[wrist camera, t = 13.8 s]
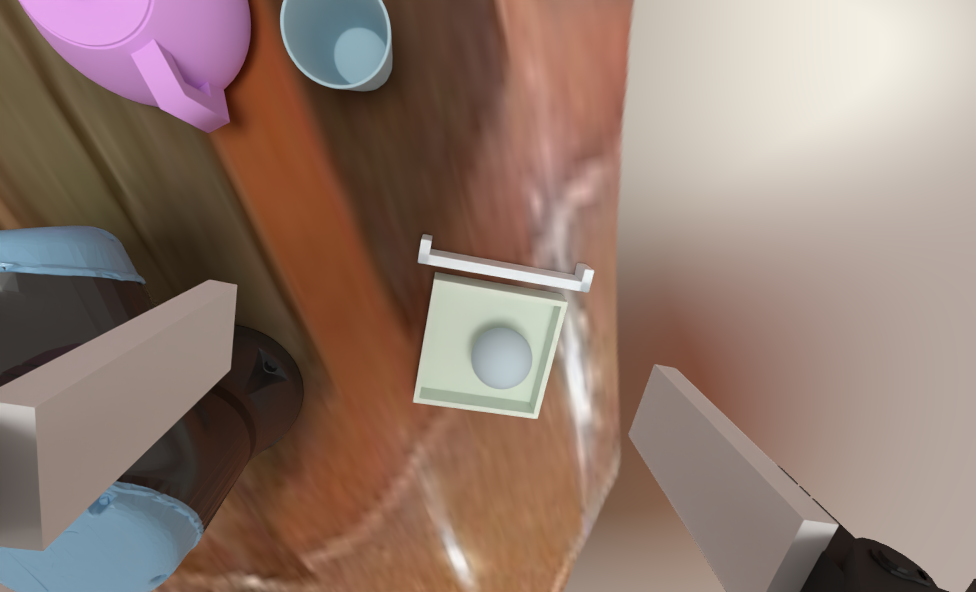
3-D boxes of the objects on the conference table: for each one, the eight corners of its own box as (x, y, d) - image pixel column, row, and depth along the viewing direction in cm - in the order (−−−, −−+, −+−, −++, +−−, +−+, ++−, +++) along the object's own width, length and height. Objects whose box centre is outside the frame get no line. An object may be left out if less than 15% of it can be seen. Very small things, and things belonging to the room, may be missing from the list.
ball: (456, 372, 50) (483, 404, 44) (467, 318, 48) (496, 344, 43) (505, 369, 53) (536, 398, 48) (517, 318, 51) (550, 342, 46)
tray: (415, 388, 52) (412, 402, 49) (435, 271, 48) (434, 279, 45) (532, 404, 54) (537, 418, 51) (561, 293, 50) (568, 302, 47)
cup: (379, -5, 40) (356, -55, 31) (419, 81, 43) (409, 60, 33) (305, 34, 41) (258, -4, 31) (348, 117, 43) (317, 106, 33)
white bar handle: (419, 256, 48) (417, 262, 45) (423, 234, 47) (421, 239, 44) (580, 284, 50) (588, 292, 47) (586, 264, 50) (594, 270, 47)
